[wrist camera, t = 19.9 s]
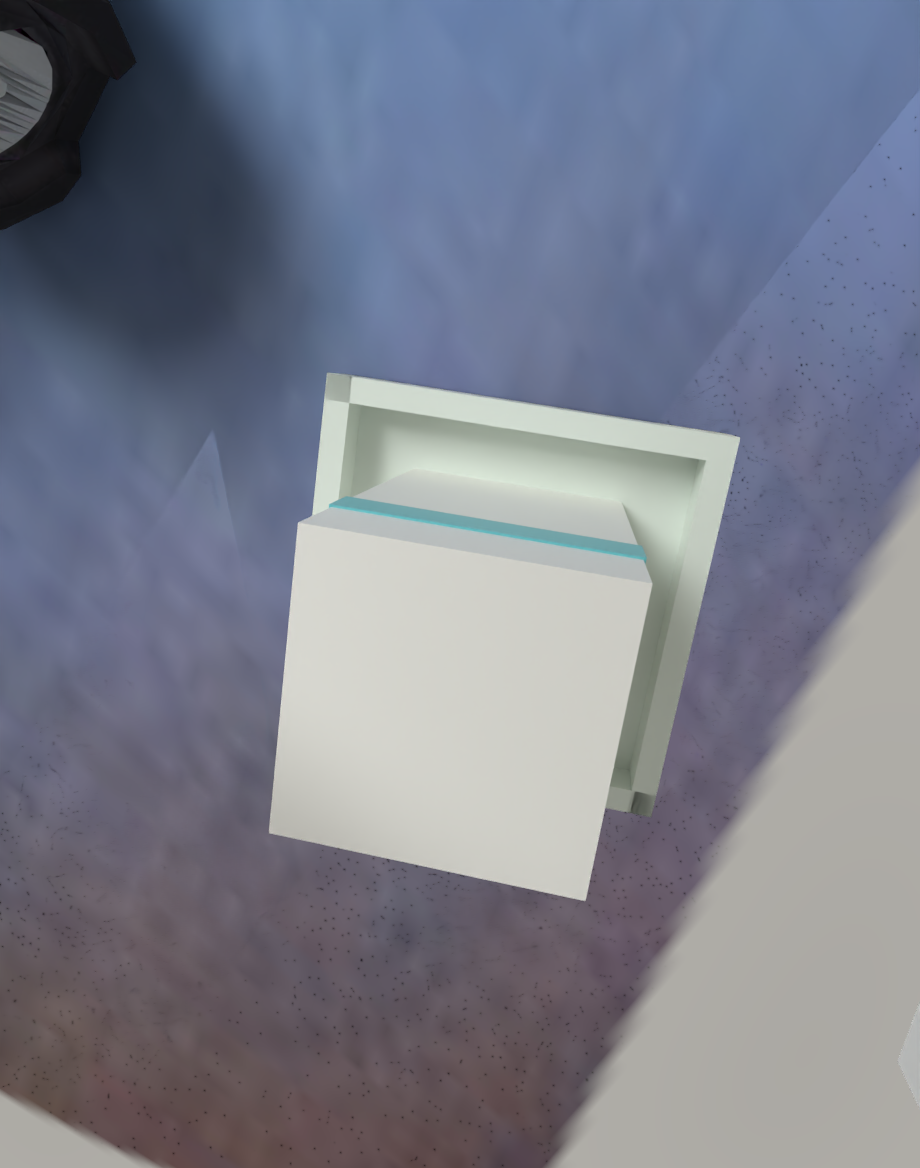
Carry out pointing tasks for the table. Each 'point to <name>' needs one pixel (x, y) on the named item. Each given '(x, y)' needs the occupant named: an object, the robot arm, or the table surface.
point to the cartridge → (459, 677)
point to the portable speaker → (51, 94)
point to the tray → (571, 465)
